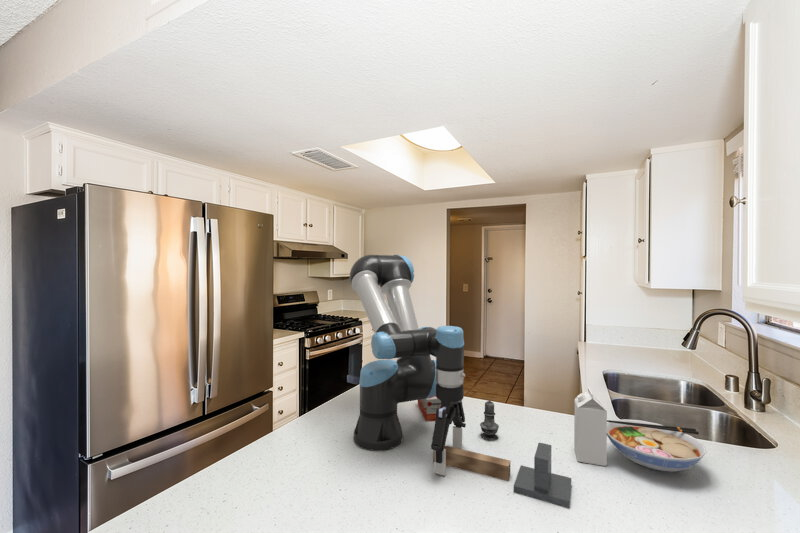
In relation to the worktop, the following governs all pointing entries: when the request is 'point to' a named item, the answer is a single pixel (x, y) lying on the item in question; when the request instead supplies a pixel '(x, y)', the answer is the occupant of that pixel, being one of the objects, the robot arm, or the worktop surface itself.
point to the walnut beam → (477, 463)
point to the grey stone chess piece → (489, 423)
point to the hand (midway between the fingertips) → (449, 461)
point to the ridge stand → (543, 480)
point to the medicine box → (429, 407)
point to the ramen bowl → (656, 444)
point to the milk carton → (590, 429)
